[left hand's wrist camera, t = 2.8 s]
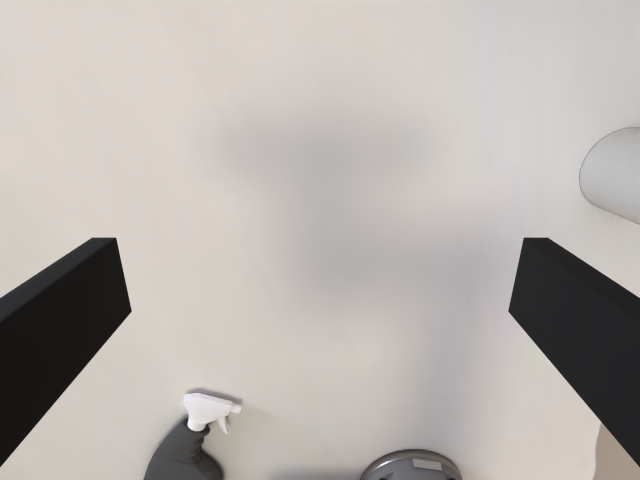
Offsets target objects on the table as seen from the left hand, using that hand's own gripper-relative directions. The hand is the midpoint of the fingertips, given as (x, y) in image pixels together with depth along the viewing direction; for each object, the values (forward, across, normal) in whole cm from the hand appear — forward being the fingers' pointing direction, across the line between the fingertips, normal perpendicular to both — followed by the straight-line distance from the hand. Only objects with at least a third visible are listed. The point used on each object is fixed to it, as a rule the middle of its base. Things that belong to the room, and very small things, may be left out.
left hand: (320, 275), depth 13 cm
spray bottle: (+28, +18, +43) cm, 54 cm away
